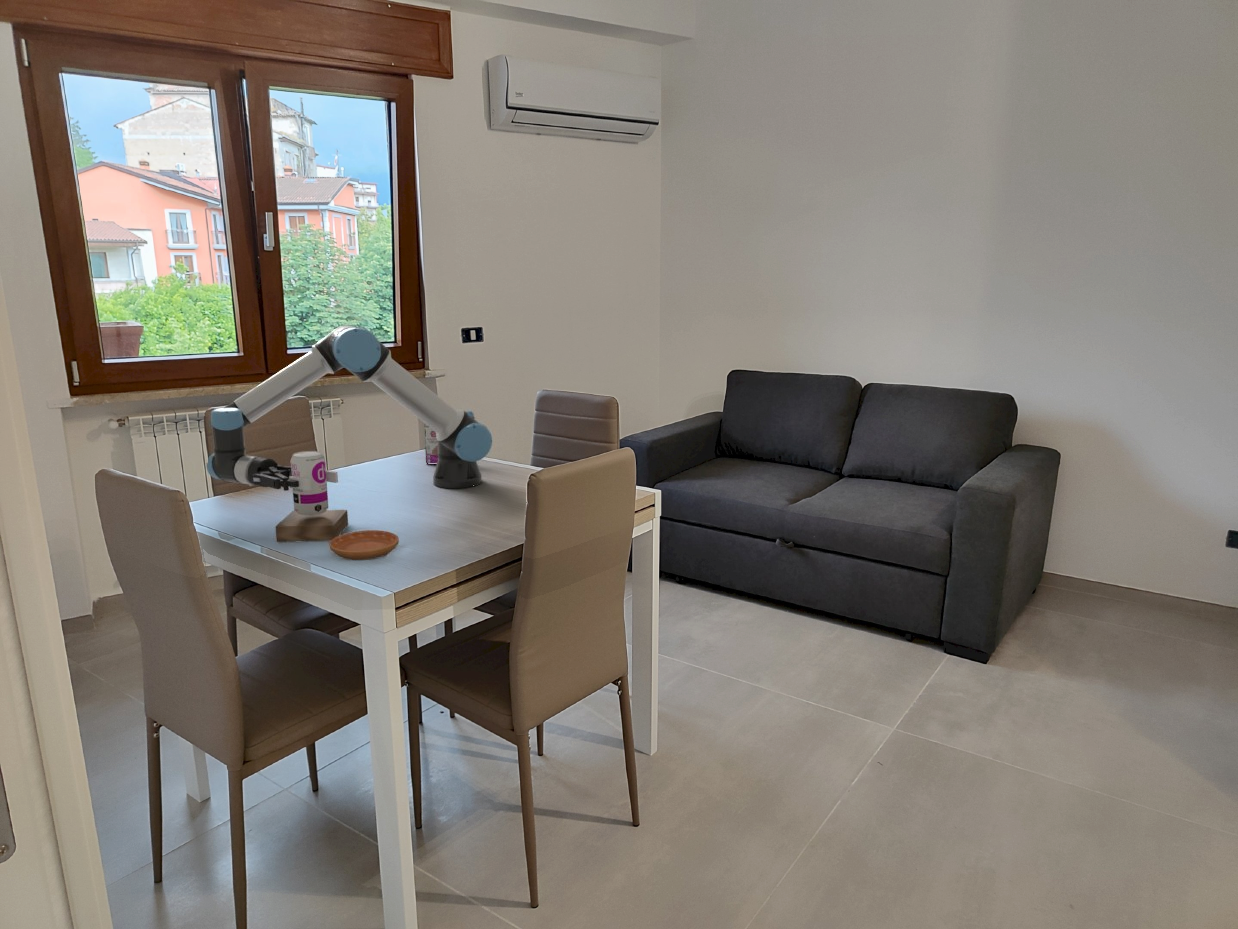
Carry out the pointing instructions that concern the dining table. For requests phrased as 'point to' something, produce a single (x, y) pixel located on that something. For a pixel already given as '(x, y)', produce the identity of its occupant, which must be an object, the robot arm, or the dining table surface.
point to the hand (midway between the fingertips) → (323, 481)
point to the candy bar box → (431, 445)
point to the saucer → (364, 544)
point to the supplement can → (314, 469)
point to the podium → (312, 526)
